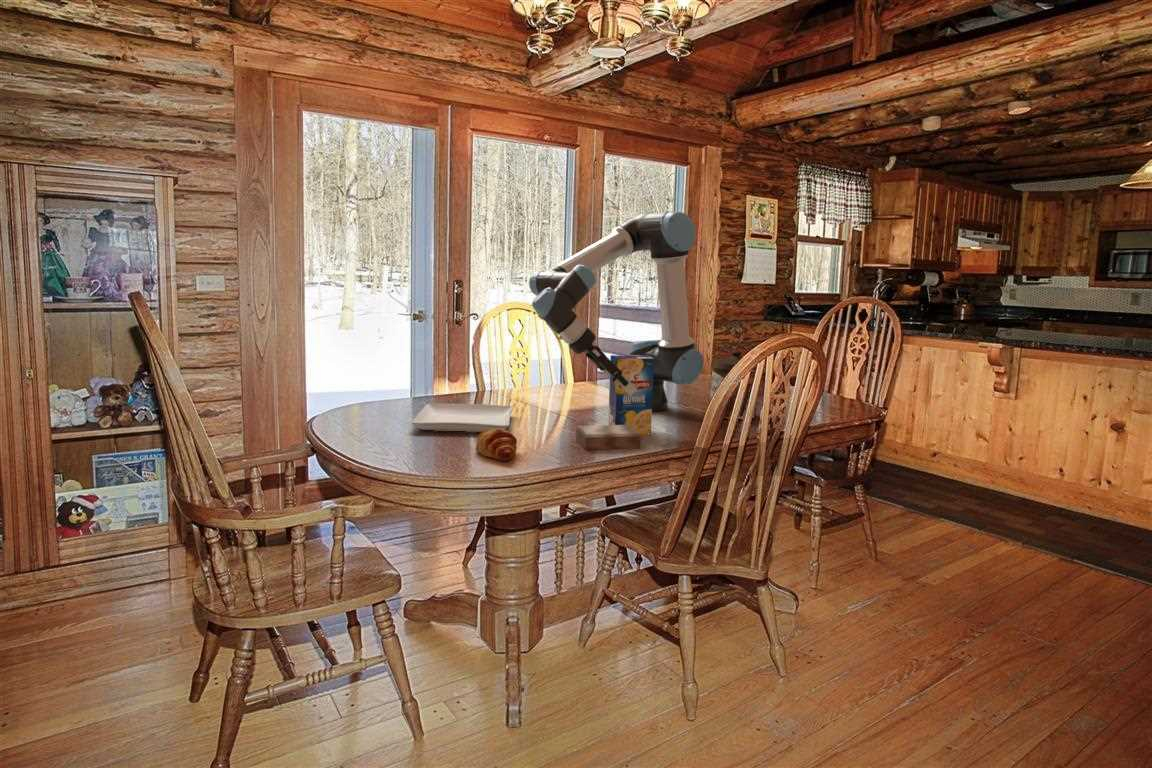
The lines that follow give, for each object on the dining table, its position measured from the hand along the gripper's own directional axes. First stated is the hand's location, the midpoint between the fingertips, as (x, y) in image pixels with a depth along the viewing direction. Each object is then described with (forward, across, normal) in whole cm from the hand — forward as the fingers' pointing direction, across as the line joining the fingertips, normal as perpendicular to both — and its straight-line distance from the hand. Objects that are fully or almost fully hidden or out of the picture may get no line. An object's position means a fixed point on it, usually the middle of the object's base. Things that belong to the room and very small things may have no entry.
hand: (626, 388), depth 205 cm
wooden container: (+39, -20, +21) cm, 48 cm away
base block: (+3, +13, -15) cm, 20 cm away
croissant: (-18, +19, -37) cm, 45 cm away
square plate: (-22, -15, -41) cm, 49 cm away
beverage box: (+10, 0, -8) cm, 13 cm away
